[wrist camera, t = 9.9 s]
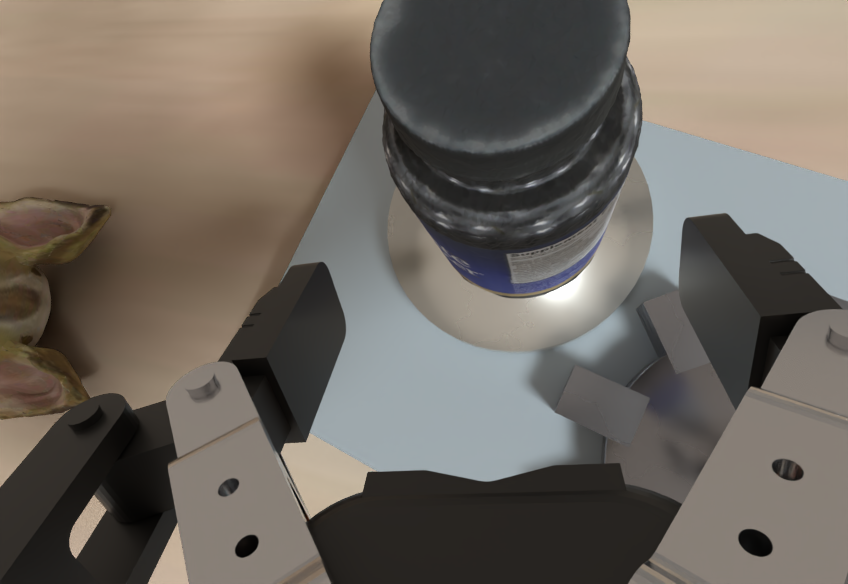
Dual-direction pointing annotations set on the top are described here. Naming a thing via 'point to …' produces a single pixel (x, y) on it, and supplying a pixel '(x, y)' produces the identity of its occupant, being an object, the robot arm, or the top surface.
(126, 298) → the top surface
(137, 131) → the top surface
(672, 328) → the gear
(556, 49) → the pill bottle
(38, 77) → the top surface
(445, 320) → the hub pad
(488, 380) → the gear board
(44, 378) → the ceramic sculpture
